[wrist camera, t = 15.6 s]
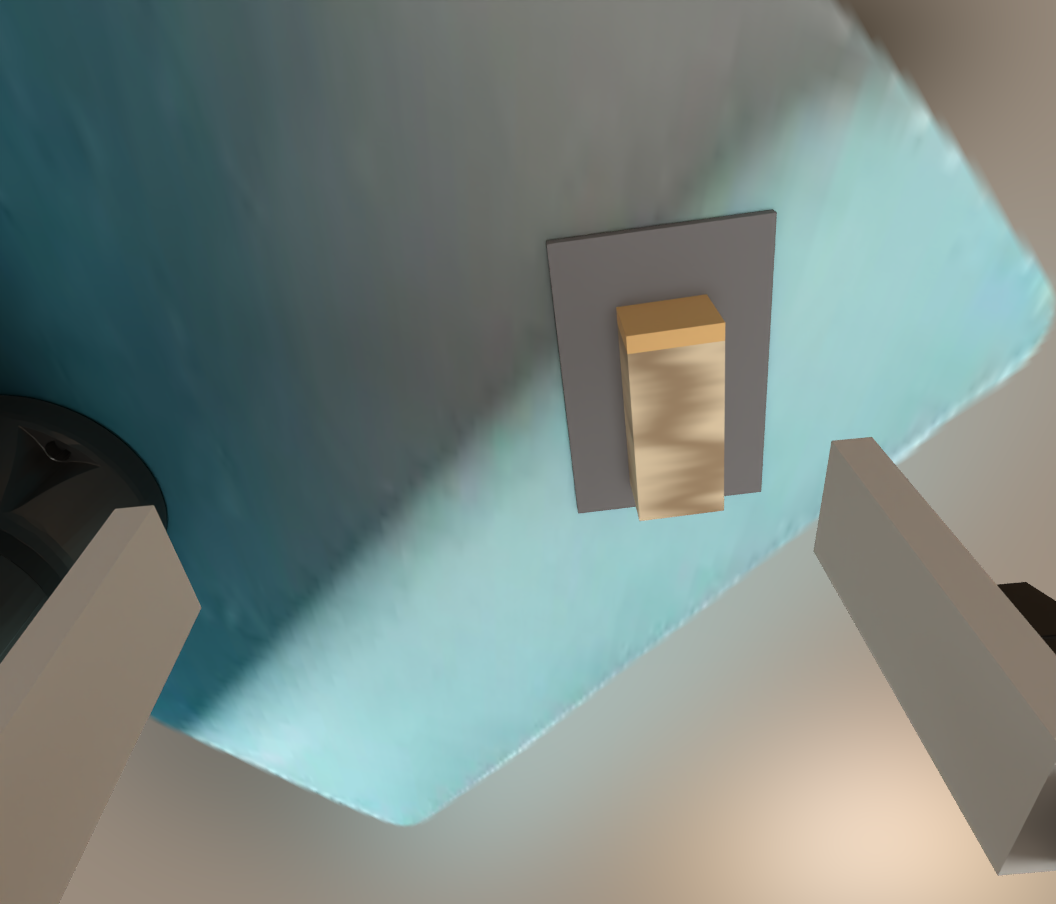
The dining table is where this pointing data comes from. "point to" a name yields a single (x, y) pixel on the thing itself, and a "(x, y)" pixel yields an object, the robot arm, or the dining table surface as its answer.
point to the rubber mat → (648, 276)
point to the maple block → (674, 405)
